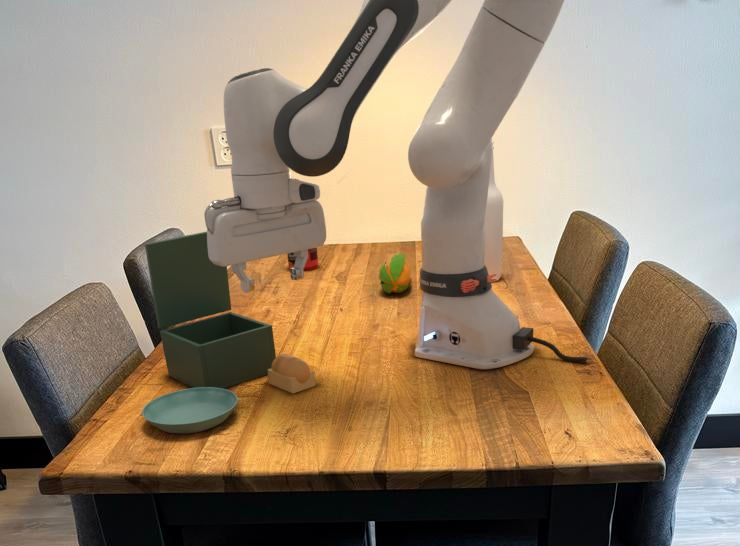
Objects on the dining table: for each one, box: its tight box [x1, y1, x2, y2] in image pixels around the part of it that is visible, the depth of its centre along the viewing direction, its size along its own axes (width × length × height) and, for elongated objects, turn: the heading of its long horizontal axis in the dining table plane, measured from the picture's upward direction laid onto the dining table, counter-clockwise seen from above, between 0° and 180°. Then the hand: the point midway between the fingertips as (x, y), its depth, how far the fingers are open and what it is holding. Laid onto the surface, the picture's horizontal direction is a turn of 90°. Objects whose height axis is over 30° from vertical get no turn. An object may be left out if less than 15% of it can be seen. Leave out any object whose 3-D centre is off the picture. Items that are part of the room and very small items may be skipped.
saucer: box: [141, 387, 239, 435], centre depth 121 cm, size 15×15×3 cm
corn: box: [378, 253, 412, 295], centre depth 183 cm, size 7×8×20 cm
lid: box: [144, 231, 232, 330], centre depth 137 cm, size 14×15×5 cm
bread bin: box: [159, 311, 277, 389], centre depth 138 cm, size 14×15×8 cm
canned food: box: [286, 247, 319, 272], centre depth 206 cm, size 8×8×11 cm
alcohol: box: [484, 140, 504, 283], centre depth 179 cm, size 9×9×30 cm
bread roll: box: [267, 353, 317, 394], centre depth 131 cm, size 8×5×5 cm, turn 40°
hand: (273, 285), depth 125 cm, fingers open, 8 cm apart
